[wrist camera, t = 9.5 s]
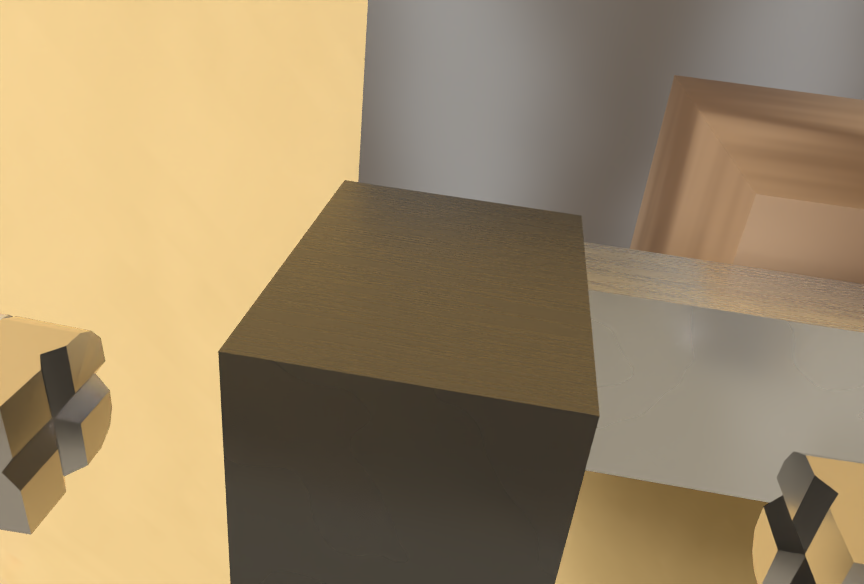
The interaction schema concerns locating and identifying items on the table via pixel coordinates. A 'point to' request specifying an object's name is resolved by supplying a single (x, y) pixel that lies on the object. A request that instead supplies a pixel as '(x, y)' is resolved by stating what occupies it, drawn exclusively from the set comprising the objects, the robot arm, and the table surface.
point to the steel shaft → (507, 388)
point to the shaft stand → (633, 120)
